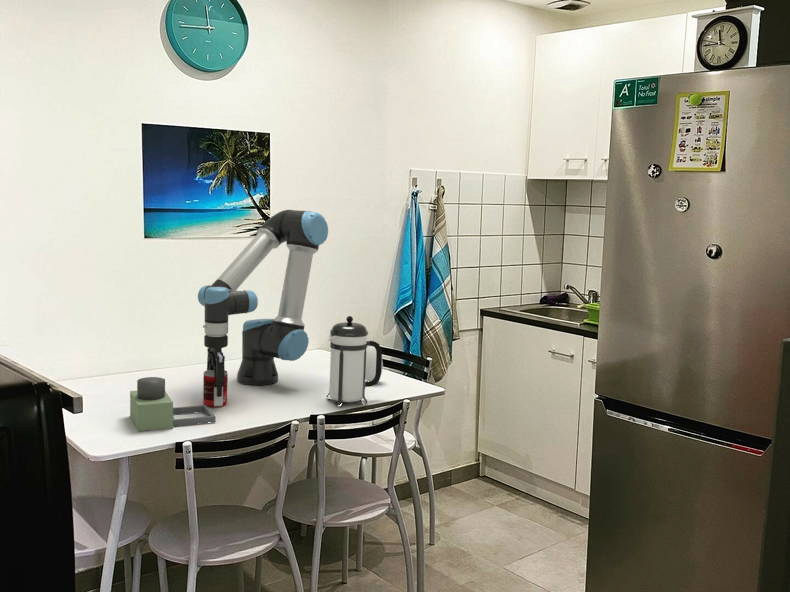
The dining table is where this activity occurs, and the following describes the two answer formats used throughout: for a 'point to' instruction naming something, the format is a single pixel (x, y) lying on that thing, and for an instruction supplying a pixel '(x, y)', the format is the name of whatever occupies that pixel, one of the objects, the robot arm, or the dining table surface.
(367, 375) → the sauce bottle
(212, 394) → the canned food
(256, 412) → the dining table surface
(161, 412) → the capped block with tray
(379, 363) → the coffee press
